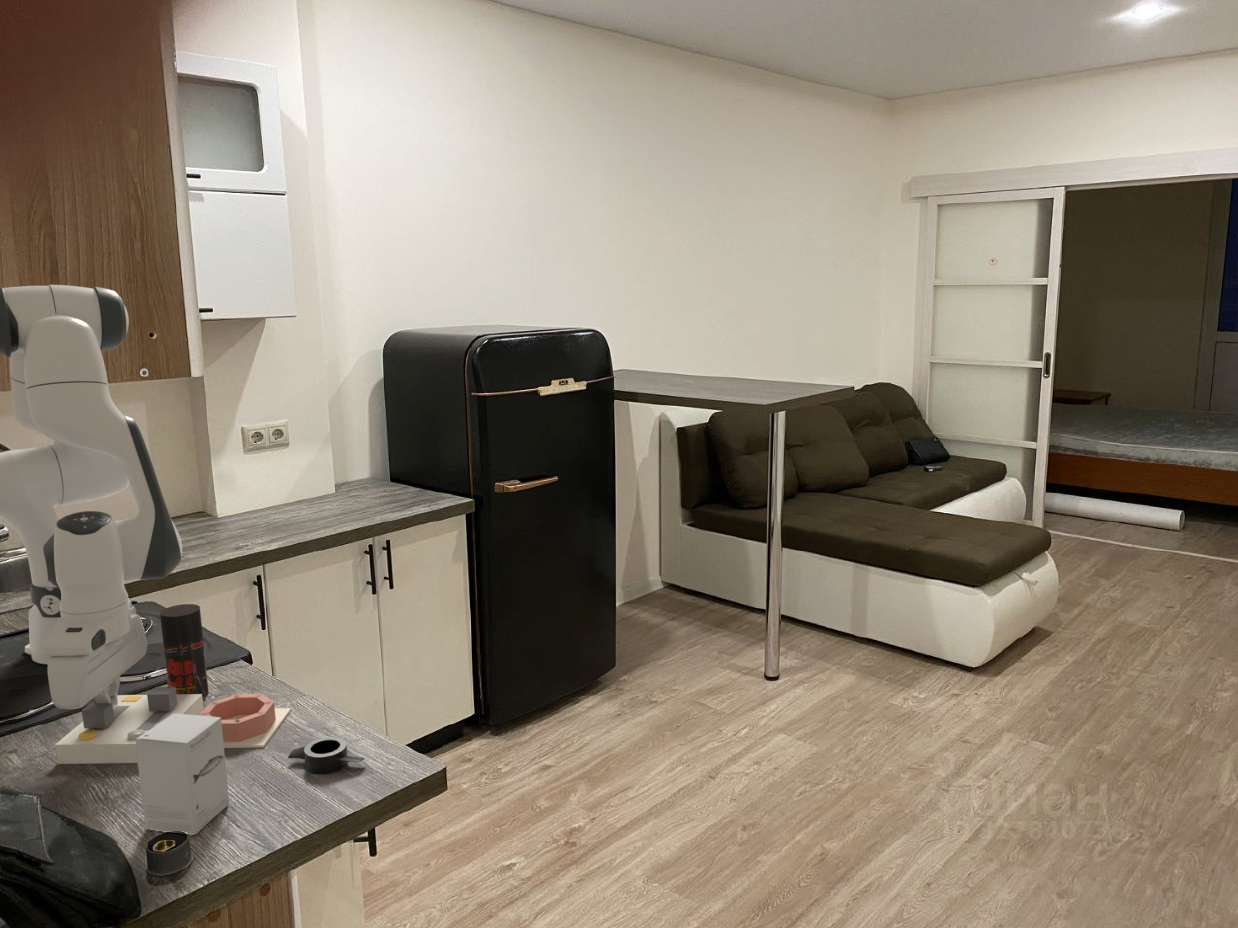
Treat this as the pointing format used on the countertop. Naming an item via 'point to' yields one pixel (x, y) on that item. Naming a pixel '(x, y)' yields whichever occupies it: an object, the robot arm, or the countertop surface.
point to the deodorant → (184, 649)
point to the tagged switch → (98, 715)
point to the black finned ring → (324, 755)
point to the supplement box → (182, 773)
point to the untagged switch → (162, 699)
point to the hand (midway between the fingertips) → (108, 709)
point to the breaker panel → (120, 731)
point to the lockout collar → (247, 719)
